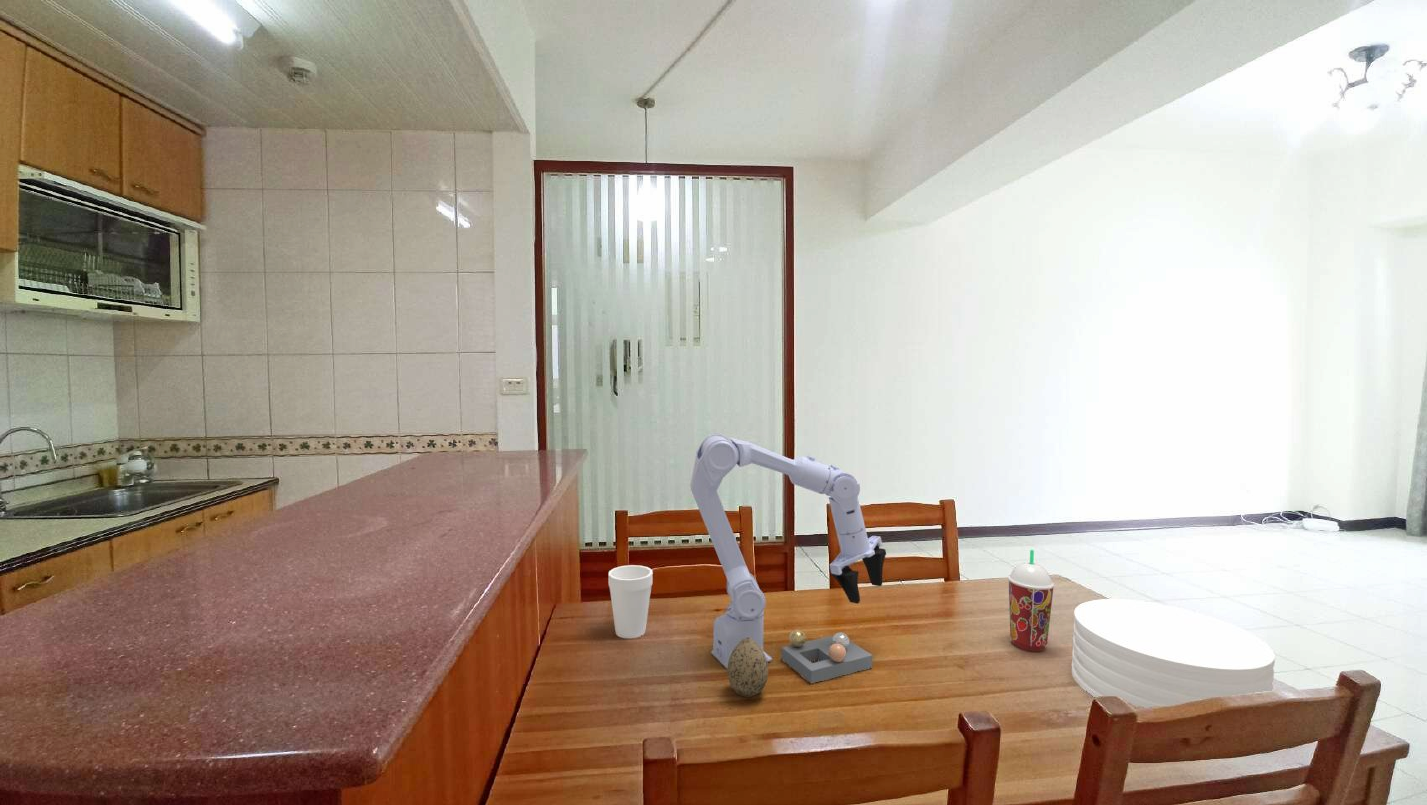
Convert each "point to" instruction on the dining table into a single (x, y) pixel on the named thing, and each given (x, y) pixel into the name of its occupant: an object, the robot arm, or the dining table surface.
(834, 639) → the steel ball
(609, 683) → the dining table surface
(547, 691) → the dining table surface
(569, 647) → the dining table surface
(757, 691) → the decorative egg
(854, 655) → the grey tray with hole
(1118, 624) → the plate stack
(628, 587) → the foam cup
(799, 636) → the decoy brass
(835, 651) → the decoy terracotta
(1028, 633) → the smoothie
